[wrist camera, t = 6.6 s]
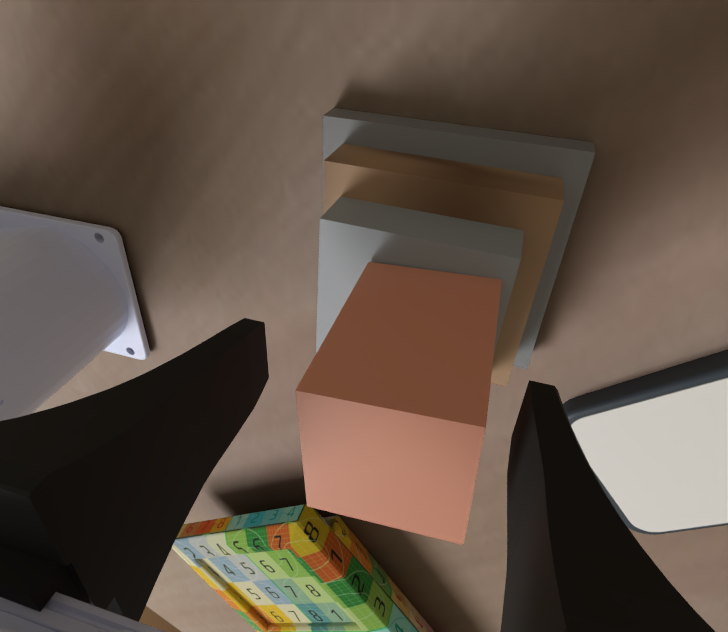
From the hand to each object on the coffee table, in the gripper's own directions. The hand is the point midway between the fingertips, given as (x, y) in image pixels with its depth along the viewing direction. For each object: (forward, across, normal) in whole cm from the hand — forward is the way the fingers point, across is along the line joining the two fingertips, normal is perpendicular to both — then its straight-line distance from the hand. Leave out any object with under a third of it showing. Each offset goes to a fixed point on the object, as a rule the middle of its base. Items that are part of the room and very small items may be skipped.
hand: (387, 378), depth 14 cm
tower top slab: (+5, 0, 0) cm, 5 cm away
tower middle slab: (+7, 0, 0) cm, 7 cm away
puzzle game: (+9, +4, +28) cm, 29 cm away
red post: (+3, -1, 0) cm, 3 cm away
